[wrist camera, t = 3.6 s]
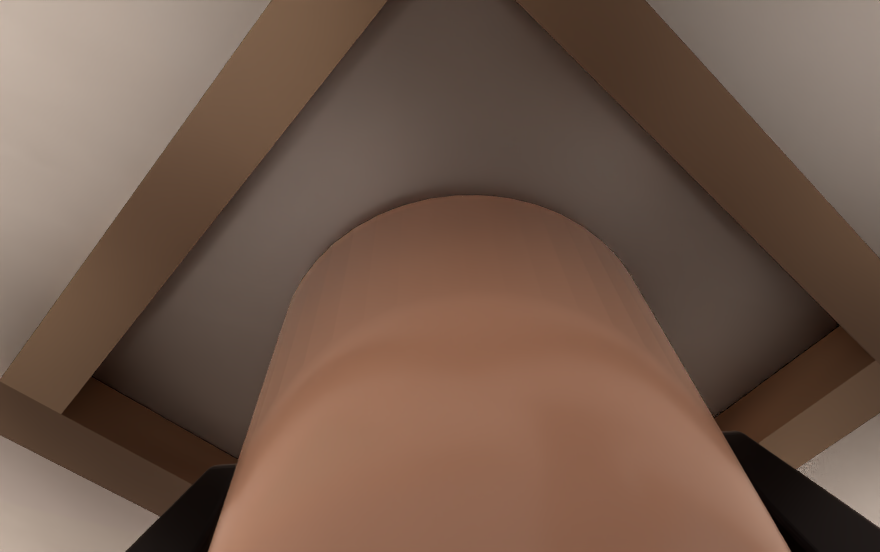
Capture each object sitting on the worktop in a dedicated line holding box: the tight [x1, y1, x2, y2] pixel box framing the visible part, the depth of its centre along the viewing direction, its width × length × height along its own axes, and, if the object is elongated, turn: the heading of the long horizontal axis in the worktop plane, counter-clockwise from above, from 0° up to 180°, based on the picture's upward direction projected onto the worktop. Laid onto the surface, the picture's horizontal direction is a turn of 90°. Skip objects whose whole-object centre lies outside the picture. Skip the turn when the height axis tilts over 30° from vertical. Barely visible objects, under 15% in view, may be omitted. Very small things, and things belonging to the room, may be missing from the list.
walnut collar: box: [0, 0, 880, 516], centre depth 11 cm, size 11×11×1 cm
